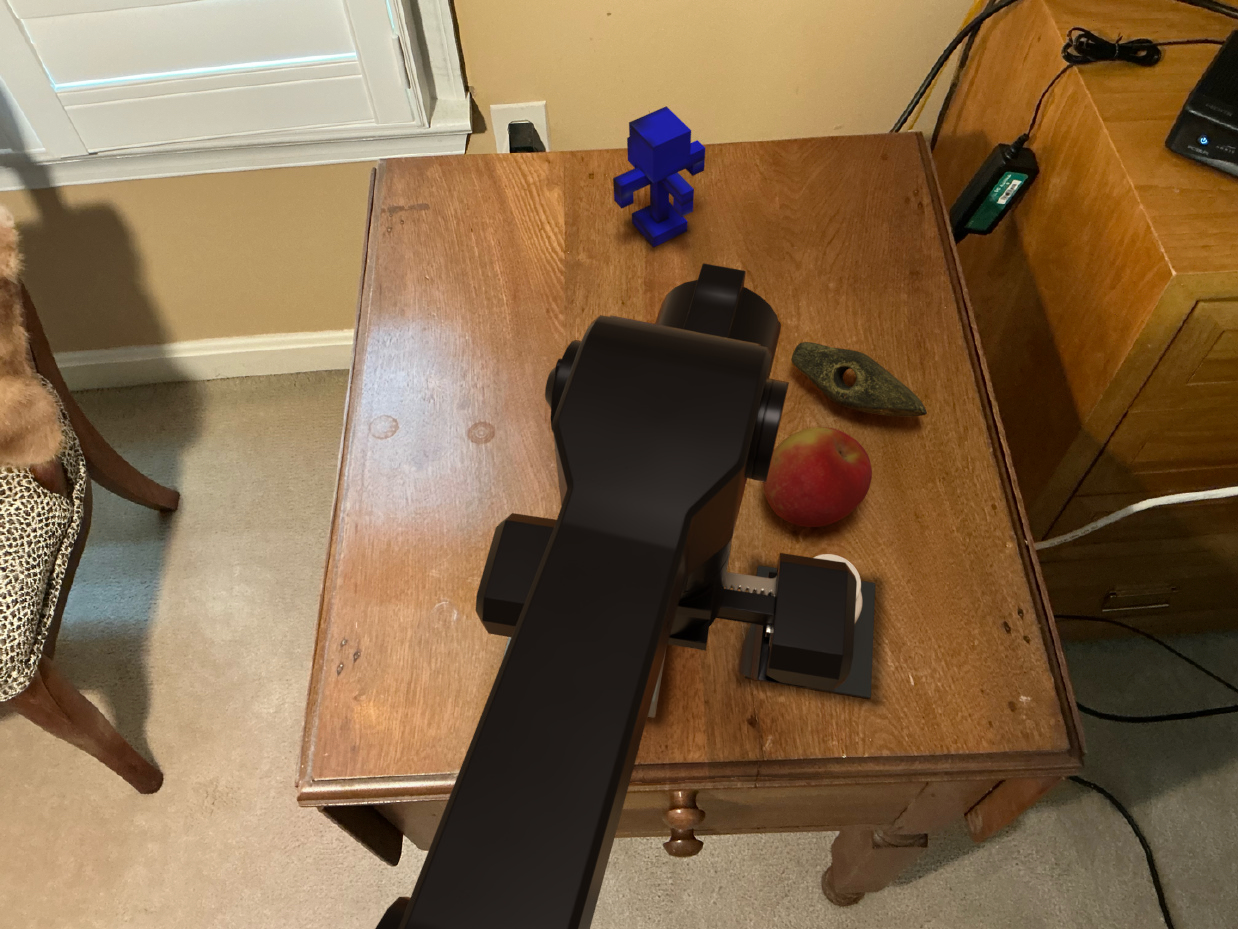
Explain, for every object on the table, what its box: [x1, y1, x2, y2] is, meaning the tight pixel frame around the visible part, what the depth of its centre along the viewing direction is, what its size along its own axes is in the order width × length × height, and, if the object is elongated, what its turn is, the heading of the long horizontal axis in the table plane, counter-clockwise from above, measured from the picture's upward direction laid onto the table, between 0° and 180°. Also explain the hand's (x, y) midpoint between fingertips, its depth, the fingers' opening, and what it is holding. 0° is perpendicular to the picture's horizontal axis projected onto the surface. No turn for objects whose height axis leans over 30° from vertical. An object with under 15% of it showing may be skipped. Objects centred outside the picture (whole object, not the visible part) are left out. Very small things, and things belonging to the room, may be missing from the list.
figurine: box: [612, 106, 706, 248], centre depth 83 cm, size 8×8×12 cm
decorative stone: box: [790, 341, 928, 418], centre depth 75 cm, size 11×8×5 cm
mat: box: [744, 565, 876, 700], centre depth 66 cm, size 9×9×1 cm
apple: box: [762, 426, 873, 528], centre depth 68 cm, size 8×8×8 cm
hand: (664, 652), depth 52 cm, fingers open, 9 cm apart
